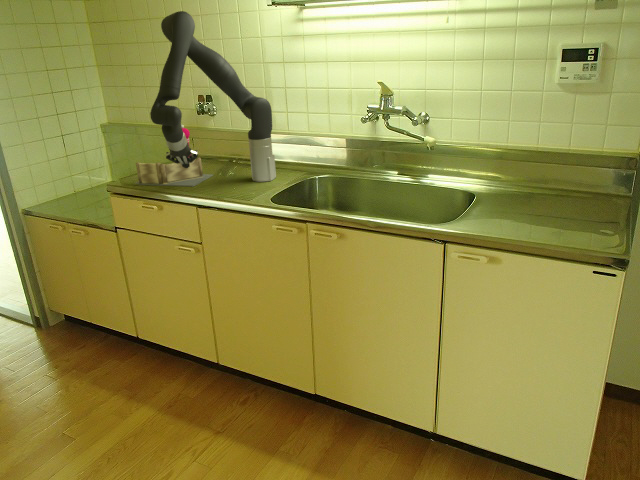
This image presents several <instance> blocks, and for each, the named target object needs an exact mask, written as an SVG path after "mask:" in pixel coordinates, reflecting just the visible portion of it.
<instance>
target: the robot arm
mask: <svg viewBox="0 0 640 480" xmlns="http://www.w3.org/2000/svg"><path fill="white" fill-rule="evenodd" d="M160 28H161V32H162V34H163V35H164V37H165V38H166V39H167V40H168V41H169V42H170V43H171V45H170V50H169V53H168V56H167V59H166V61H165V63H164V66H163V68H162V71H161V76H160V83H159V89H158V93H157V96H156V98H155V100H154V103H153V104H152V107H151V110H150V114H149V115H150V120H151V122H152V123H153V124H154V125H160V126H161V132H162V135H163V136H164V141H165V143H166V146H167V148H168V150H169V152H168V151H166V153H165V159H167V160H168V161H170V162H172V163H177V164H178V163H181V164H182V167H184V168H188V167H190V163H192V162H193V161H194V160H197V158H199V157H198V156H199V151H198V150H197V149H196V150H192V148H191V147H190V143H189V144H188V142H187V139H186V136H185V134H184V133H183V130H182V127H181V125H182V116H183V114H182V113H183V112H182V111H181V109H180V108H179V107H177V106H174V105H167V103H168V102H170V101H177V100H179V98H180V95H181V89H182V82H183V75H184V69H185V65H186V60H187V57H188V58H189V59H190V60H191V61H192V62H193V63H194V64H195V65H196V66H197V67H198V68H199V69H200V70H201V71H202V72H203V73H204V74H205V75H206V77H208V78H209V80H211V82H212V83H213V84H214V85H216V86H217V87H218V88H219V90H221V91H222V93H224V94H225V95H226V96H228V98H230V100H231V101H232V102H233V103H234V104H235V105H236V106H237V108H238V109H239V111H241V113H242V114H243V115H244V116H245V117H246V118H247V119H248V120H250V123H251V125H250V126H251V128H250V129H249V130H248V132H247V137H248V149H249V157H250V158H249V159H250V169H251V170H250V171H251V178H252V181H253V182H260V183H261V182H269V181H270V182H271V181H273V180H274V179H276V178H277V172H276V170H277V169H276V159H275V158H276V157H275V154H273V144H272V132H273V111H272V106H271V103H270V102H269V100H268V99H267V98H264V97H259V96H255V95H254V94H253V93H252V92H250V91H249V90H248V89H247V87H245V86H244V84H243V83H242V82H241V80H240V78H239V76H238V74H237V71H236V69H234V67H233V66H232V65H231V64H230V62H228V61H227V59H225V57H224V56H222V55H221V54H220V53H218V52H217V51H215V50H214V49H211V48H210V47H208V46H206V45H204V44H203V43H201V42H200V41H199V40H198V39H197V38H196V37H195V36H194V34H195V29H196V23H195V20H194V18H193V17H192V15H191V14H190V13H189V12H187V11H184V10H183V11H182V10H180V11H176V12H173V13H171V14H169V15H167V16H165V17H164V18H163V19H162V21H161V24H160ZM188 157H189V158H188ZM189 162H190V163H189Z"/></svg>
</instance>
